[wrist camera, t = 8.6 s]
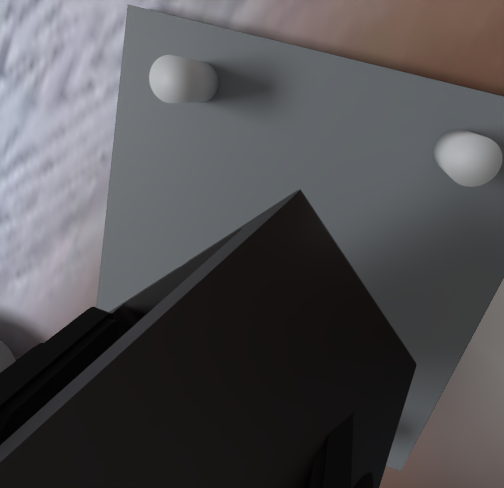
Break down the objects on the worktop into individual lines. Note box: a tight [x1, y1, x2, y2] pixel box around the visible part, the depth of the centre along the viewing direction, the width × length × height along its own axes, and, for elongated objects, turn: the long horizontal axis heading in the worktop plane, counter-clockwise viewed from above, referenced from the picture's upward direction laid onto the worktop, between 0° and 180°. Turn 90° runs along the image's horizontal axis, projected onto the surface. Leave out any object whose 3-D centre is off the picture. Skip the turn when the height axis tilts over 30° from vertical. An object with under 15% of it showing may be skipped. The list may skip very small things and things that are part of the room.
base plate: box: [96, 5, 504, 471], centre depth 19 cm, size 18×18×4 cm
